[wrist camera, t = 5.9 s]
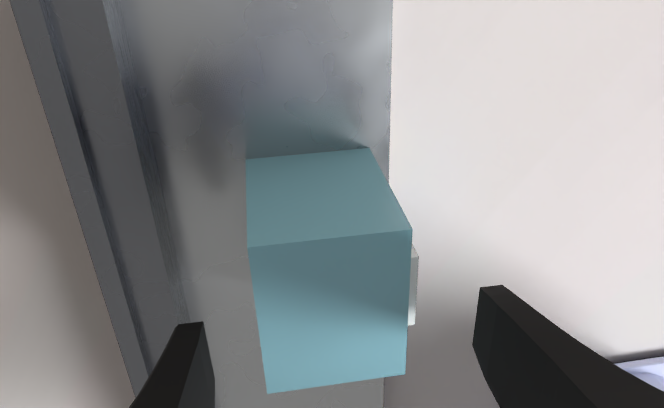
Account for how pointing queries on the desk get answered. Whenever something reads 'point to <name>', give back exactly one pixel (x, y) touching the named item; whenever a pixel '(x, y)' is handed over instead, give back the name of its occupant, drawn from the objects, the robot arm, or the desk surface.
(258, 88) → the rail board
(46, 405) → the desk surface
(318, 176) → the block
